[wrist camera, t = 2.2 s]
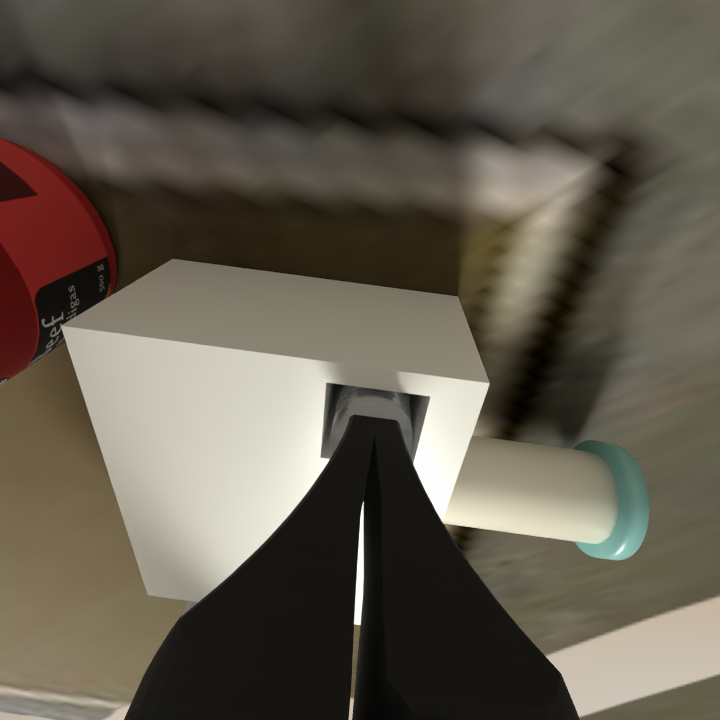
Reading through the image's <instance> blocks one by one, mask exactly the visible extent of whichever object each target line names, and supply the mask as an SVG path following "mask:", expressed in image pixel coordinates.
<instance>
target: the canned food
mask: <svg viewBox="0 0 720 720" xmlns="http://www.w3.org/2000/svg"><path fill="white" fill-rule="evenodd" d="M116 282H117V264H116V258H115V252H114V248H113V245H112V242H111V239H110V236H109V234H108V231H107V229H106V227H105V225H104V223H103V221H102V220H101V218H100V216H99V214H98V212H97V211H96V209H95V208H94V207H93V205H92V204H91V202H90V201H89V200H88V198H87V197H86V195H85V194H84V193H83V192H82V191H81V190H80V189H79V188H78V187H77V185H76V184H75V183H74V182H73V181H72V180H71V179H70V178H69V177H68V176H67V175H66V174H64V173H63V172H62V171H61V170H60V169H58V168H57V167H56V166H55V165H54V164H52V163H51V162H50V161H48V160H46V159H45V158H43V157H41V156H40V155H38V154H37V153H35V152H33V151H32V150H29V149H27V148H25V147H22V146H20V145H17V144H15V143H13V142H10V141H7V140H4V139H1V138H0V385H1V384H3V383H4V382H6V381H7V380H9V379H10V378H12V377H13V376H15V375H16V374H18V373H19V372H21V371H22V370H24V369H25V368H27V367H28V366H30V365H31V364H33V363H34V362H36V361H37V360H39V359H40V358H42V357H43V356H45V355H46V354H48V353H49V352H51V351H52V350H54V349H55V348H57V347H58V346H60V345H61V344H63V343H64V342H66V341H65V337H64V334H63V331H62V328H61V325H63V324H65V323H66V322H68V321H70V320H71V319H73V318H75V317H76V316H78V315H80V314H81V313H83V312H85V311H86V310H88V309H90V308H91V307H93V306H95V305H96V304H98V303H100V302H101V301H103V300H105V299H106V298H108V297H110V296H111V295H113V293H114V289H115V285H116Z"/></svg>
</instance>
